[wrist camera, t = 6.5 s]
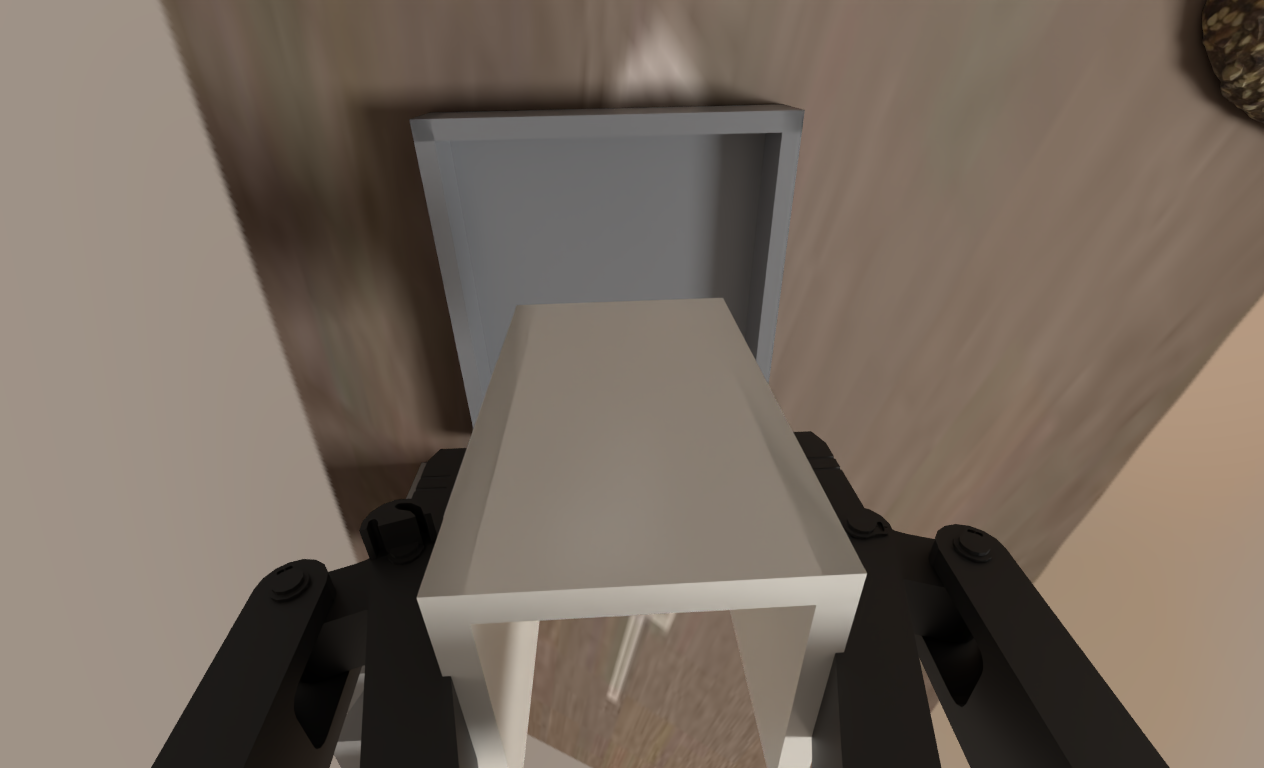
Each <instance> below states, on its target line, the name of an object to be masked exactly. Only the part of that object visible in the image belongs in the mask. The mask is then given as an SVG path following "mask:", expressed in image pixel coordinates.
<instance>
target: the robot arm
mask: <svg viewBox="0 0 1264 768" xmlns="http://www.w3.org/2000/svg"><path fill="white" fill-rule="evenodd" d="M496 364H497V362H496ZM495 367H496V365H495ZM494 370H495V368H494ZM493 373H494V371H493ZM492 376H493V374H492ZM492 376H491V379H492ZM491 379H490V382H491ZM490 382H489V385H490ZM489 385H488V387H489ZM487 390H488V388H487ZM486 393H487V391H486ZM485 396H486V394H485ZM484 399H485V397H484ZM483 402H484V400H483ZM482 405H483V403H482ZM481 408H482V406H481ZM481 408H480V411H481ZM480 411H479V414H480ZM479 414H478V417H479ZM478 417H477V420H478ZM477 420H476V422H477ZM475 425H476V423H475ZM474 428H475V426H474ZM473 431H474V429H473ZM793 433H794V435H795V437H796V438H797V440H798V442H799V444H800V446H801V448H802V450H803V452H804V454H805V456H806V458H807V459H808V461H809V463H810V465H811V467H812V469H813V471H814V473H815V475H816V477H817V479H818V481H819V482H820V484H821V486H822V488H823V490H824V492H825V494H826V496H827V498H828V500H829V502H830V503H831V505H832V507H833V509H834V511H835V513H836V515H837V517H838V519H839V521H840V523H841V524H842V526H843V528H844V530H845V532H846V534H847V536H848V538H849V540H850V542H851V544H852V546H853V547H854V549H855V551H856V553H857V555H858V557H859V559H860V561H861V563H862V565H863V567H864V568H865V570H866V572H867V575H866V579H865V582H864V586H863V589H862V592H861V596H860V599H859V603H858V606H857V609H856V613H855V616H854V619H853V623H852V626H851V630H850V633H849V636H848V640H847V643H846V647H845V650H844V652H840V653H835V656H834V659H833V663H832V666H831V670H830V674H829V677H828V681H827V684H826V688H825V691H824V695H823V698H822V702H821V705H820V709H819V712H818V716H817V720H816V723H815V727H814V730H813V734H812V768H941V764H940V759H939V754H938V750H937V744H936V739H935V734H934V729H933V724H932V719H931V714H930V709H929V704H928V699H927V695H926V690H925V685H924V680H923V675H922V670H921V665H920V660H921V662H922V664H923V666H924V669H925V671H926V673H927V675H928V677H929V679H930V681H931V684H932V686H933V688H934V690H935V692H936V694H937V696H938V699H939V701H940V703H941V705H942V707H943V709H944V712H945V714H946V716H947V718H948V720H949V722H950V724H951V726H952V729H953V731H954V733H955V735H956V737H957V740H958V741H959V744H960V746H961V748H962V750H963V752H964V755H965V757H966V759H967V761H968V763H969V765H970V767H971V768H1169V766H1168V765H1167V764H1166V762H1165V761H1164V760H1163V758H1162V757H1161V756H1160V754H1159V753H1158V752H1157V750H1156V749H1155V748H1154V746H1153V745H1152V744H1151V742H1150V741H1149V740H1148V738H1147V737H1146V736H1145V734H1144V733H1143V732H1142V730H1141V729H1140V727H1139V726H1138V725H1137V724H1136V722H1135V721H1134V719H1133V718H1132V717H1131V715H1130V714H1129V713H1128V711H1127V710H1126V709H1125V707H1124V706H1123V705H1122V703H1121V702H1120V701H1119V699H1118V698H1117V697H1116V695H1115V694H1114V693H1113V691H1112V690H1111V689H1110V687H1109V686H1108V685H1107V683H1106V682H1105V681H1104V679H1103V678H1102V677H1101V675H1100V674H1099V673H1098V671H1097V670H1096V669H1095V667H1094V666H1093V665H1092V663H1091V662H1090V661H1089V659H1088V658H1087V657H1086V655H1085V654H1084V652H1083V651H1082V650H1081V648H1080V647H1079V646H1078V645H1077V643H1076V642H1075V640H1074V639H1073V638H1072V637H1071V635H1070V634H1069V632H1068V631H1067V630H1066V628H1065V627H1064V626H1063V625H1062V623H1061V622H1060V620H1059V619H1058V618H1057V616H1056V615H1055V614H1054V612H1053V611H1052V610H1051V609H1050V607H1049V606H1048V604H1047V603H1046V602H1045V600H1044V599H1043V598H1042V596H1041V595H1040V594H1039V592H1038V591H1037V590H1036V588H1035V587H1034V585H1033V584H1032V583H1031V581H1030V580H1029V579H1028V577H1027V576H1026V575H1025V573H1024V572H1023V571H1022V569H1021V568H1020V567H1019V565H1018V564H1017V563H1016V561H1015V560H1014V559H1013V557H1012V556H1011V555H1010V553H1009V552H1008V551H1007V549H1006V548H1005V547H1004V546H1003V545H1002V544H1001V543H1000V542H999V541H998V540H997V539H996V538H994V537H992V536H991V535H989V534H987V533H986V532H984V531H982V530H979V529H976V528H974V527H971V526H966V525H958V524H954V525H948V526H944V527H943V528H941V529H940V530H938V531H937V534H936V537H935V539H930V538H925V537H920V536H915V535H910V534H905V533H901V532H897V531H894V530H892V528H891V526H890V524H889V523H888V522H887V521H886V520H885V519H884V518H883V517H882V516H881V515H879V514H877V513H875V512H873V511H871V510H870V509H866V508H864V507H863V505H862V503H861V501H860V500H859V498H858V496H857V495H856V493H855V491H854V490H853V488H852V486H851V485H850V483H849V481H848V480H847V478H846V476H845V474H844V473H843V471H842V470H840V466H839V464H838V463H837V461H836V459H834V456H833V454H832V453H831V451H830V449H829V447H828V446H827V444H826V443H825V442H824V441H823V440H821V439H820V438H819V437H818V436H816V435H815V434H814V433H812V432H811V431H809V432H793ZM472 434H473V432H472ZM471 437H472V435H471ZM470 440H471V438H470ZM470 440H469V443H470ZM469 443H468V446H469ZM468 446H467V448H458V449H440V450H439V451H438V452H437V453H436V454H435V455H434V456H433V457H432V458H431V459H430V460H429V461H428V462H427V463H426V466H425V468H424V470H423V473H422V475H421V479H419V482H418V484H417V486H416V491H414V493H413V496H412V498H411V499H409V498H408V499H400V500H394V501H392V502H389V503H386V504H383V505H381V506H380V507H378V508H377V509H375V510H374V511H372V512H371V513H370V514H369V515H368V516H367V517H366V518H365V519H364V520H363V522H362V525H361V528H360V530H359V531H360V534H361V536H362V539H363V542H364V544H365V547H366V550H367V552H368V555H369V559H367V560H365V561H362V562H360V563H357V564H354V565H350V566H347V567H344V568H340V569H337V570H334V571H330V572H328V571H327V569H326V567H325V564H323V563H321V562H319V561H317V560H310V559H302V560H298V561H294V562H290V563H287V564H285V565H283V566H281V567H279V568H277V569H275V570H274V571H272V572H271V573H270V574H268V575H267V576H266V577H264V578H263V579H262V580H261V581H260V583H259V584H258V585H257V586H256V588H255V589H254V590H253V592H252V594H251V595H250V597H249V599H248V601H247V602H246V604H245V606H244V608H243V609H242V611H241V613H240V614H239V616H238V618H237V620H236V621H235V623H234V625H233V627H232V628H231V630H230V632H229V634H228V636H227V637H226V639H225V640H224V642H223V644H222V646H221V647H220V649H219V651H218V653H217V654H216V656H215V658H214V660H213V662H212V663H211V665H210V667H209V668H208V670H207V672H206V673H205V675H204V677H203V679H202V681H201V682H200V684H199V686H198V687H197V689H196V691H195V693H194V694H193V696H192V698H191V699H190V701H189V703H188V705H187V707H186V708H185V710H184V712H183V714H182V715H181V717H180V718H179V720H178V722H177V724H176V725H175V727H174V729H173V731H172V732H171V734H170V736H169V738H168V740H167V741H166V743H165V744H164V747H163V748H162V750H161V752H160V753H159V755H158V757H157V758H156V760H155V762H154V764H153V765H152V767H151V768H329V767H330V764H331V761H332V758H333V755H334V752H335V749H336V746H337V743H338V740H339V736H340V733H341V730H342V727H343V724H344V721H345V718H346V715H347V712H348V709H349V706H350V702H351V699H352V696H353V693H354V690H355V687H356V684H357V681H358V678H359V675H360V672H361V668H362V666H364V665H365V676H364V695H363V714H362V733H361V752H360V768H478V760H477V756H476V753H475V750H474V747H473V744H472V741H471V737H470V734H469V731H468V728H467V725H466V722H465V719H464V715H463V712H462V709H461V706H460V703H459V700H458V697H457V693H456V690H455V687H454V684H453V681H452V678H451V676H442V673H441V670H440V667H439V664H438V661H437V658H436V655H435V652H434V649H433V646H432V643H431V640H430V637H429V634H428V631H427V628H426V625H425V622H424V619H423V616H422V613H421V610H420V607H419V604H418V601H417V595H418V592H419V589H420V586H421V583H422V580H423V577H424V574H425V571H426V569H427V566H428V563H429V560H430V557H431V554H432V551H433V548H434V545H435V542H436V539H437V536H438V533H439V531H440V528H441V525H442V522H443V519H444V516H445V513H446V510H447V507H448V504H449V501H450V498H451V495H452V493H453V490H454V487H455V484H456V481H457V478H458V475H459V472H460V469H461V466H462V463H463V460H464V458H465V455H466V452H467V449H468ZM919 658H920V660H919Z"/></svg>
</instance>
